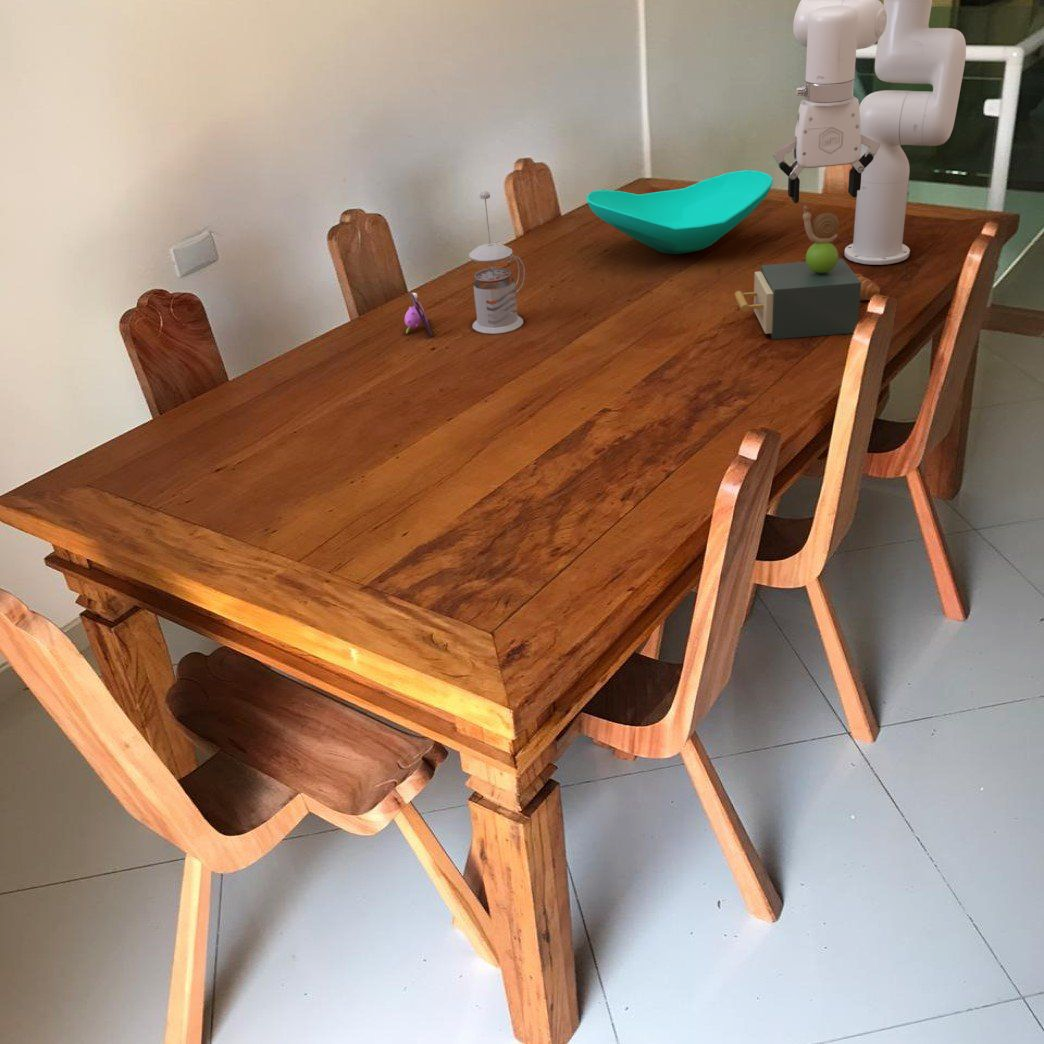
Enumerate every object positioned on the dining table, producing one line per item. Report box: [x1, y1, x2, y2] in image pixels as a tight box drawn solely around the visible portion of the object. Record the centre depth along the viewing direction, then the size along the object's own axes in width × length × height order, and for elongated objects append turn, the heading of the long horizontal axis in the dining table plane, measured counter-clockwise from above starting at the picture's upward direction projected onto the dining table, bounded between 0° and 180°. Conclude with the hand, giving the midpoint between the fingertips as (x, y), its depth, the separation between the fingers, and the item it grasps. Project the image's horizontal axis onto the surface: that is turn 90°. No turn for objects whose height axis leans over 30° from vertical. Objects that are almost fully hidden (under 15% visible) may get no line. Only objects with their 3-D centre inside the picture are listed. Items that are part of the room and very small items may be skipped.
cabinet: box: [760, 258, 861, 340], centre depth 194 cm, size 15×13×9 cm
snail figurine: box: [802, 204, 840, 273], centre depth 189 cm, size 5×6×12 cm
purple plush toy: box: [404, 290, 434, 338], centre depth 208 cm, size 7×5×9 cm
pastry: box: [853, 272, 881, 302], centre depth 205 cm, size 9×7×4 cm
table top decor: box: [585, 169, 774, 255], centre depth 233 cm, size 40×28×13 cm
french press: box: [468, 190, 526, 335], centre depth 203 cm, size 10×12×25 cm
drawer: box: [734, 270, 774, 335], centre depth 194 cm, size 17×11×7 cm, turn 90°
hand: (823, 197), depth 185 cm, fingers open, 9 cm apart
